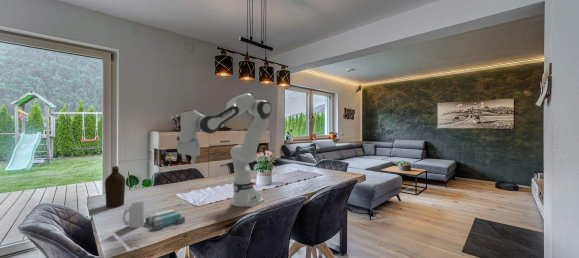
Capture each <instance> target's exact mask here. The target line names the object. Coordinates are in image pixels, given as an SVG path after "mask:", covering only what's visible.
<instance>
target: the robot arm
mask: <svg viewBox="0 0 579 258" xmlns="http://www.w3.org/2000/svg"><path fill="white" fill-rule="evenodd" d="M245 112H246V113H247V114H248V115H250V116H253V121H252V122H251V125H250V126H249V127H248V129H247V131H246V132H245V134H244V140H243V143H242V144H237V145H234V146H232V148H231V149H230V156H231V159H232V165H233V171H234V177H233V180H234V182H233V194H232V195H233V196H232V201H231V205H232V206H234V207H254V206H255V205H257V204H259V203H262V202H264V201H265V199H264V198H263V197H261V196H262V195H261V192H260V191H259V190H258V189H256V188H255V187H254V186H256V184H257V183H256V182H255V181H252V170H251V168H250V165H249V164H250V163H251V164H252V163H253V162H255V161H256V160H257V158H258V153H257V151H258V147H259V144H260V142H261V140H262V138H263V137H264V135H265V134H266V131H267V129H268V127H269V124H270V120H269V117H270V115H271V113H272V104H271V103H270V102H269V101H267V100H264V99H263V100H262V99H261V100H260V99H256V100H255V98H254V97H253V95H252V94H250V93H243V94H239V95H237V96H235V97H233V98H232V99H230V100H229V101H228V102H226V105H225V109H224V110H222V111H220V112H219V113H217V114H215V115H213V114H212V115H204V114H202V113H200V112H198V111H197V110H196V109H187V110H183V111H182V112H181V114H180V119H179V121H180V122H179V126H180V132H179V135H178V136H176V141H177V142H176V151H177V153H178V154H181V158H182V162H187V157H186V156H190V157H191V160H189V162H190V163H189V164H193V165H194V164H195V161H196V159H197V157H199V156H200V155H201V146H200V145H201V144H200V143H199V140H198V132H201V133H205V134H209V135H210V134H214V133H216V132H217V131H218V130H219V129H220V128H221V126H222V125H223V124H224V123H227V122H228V121H229V120H231V119H233V118H235V117H237V116H238V117H239V116H240V115H242V114H243V113H245Z"/></svg>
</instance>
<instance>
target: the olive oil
mask: <svg viewBox="0 0 579 258" xmlns="http://www.w3.org/2000/svg"><path fill="white" fill-rule="evenodd" d="M111 169H112V170H111V173H110V174H109V175H108V176H107V177H106V178H105V180H104V181H105V182H104V187H105V188H104V191H105V192H104V193H105V207H106V208H107V209H108V208H110V209H111V208H119V207H121V206H124V205H125V190H126V178H125V176H124V175H122V174H121V173H120V172H119V166H118V165H114V166H112V167H111Z"/></svg>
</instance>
